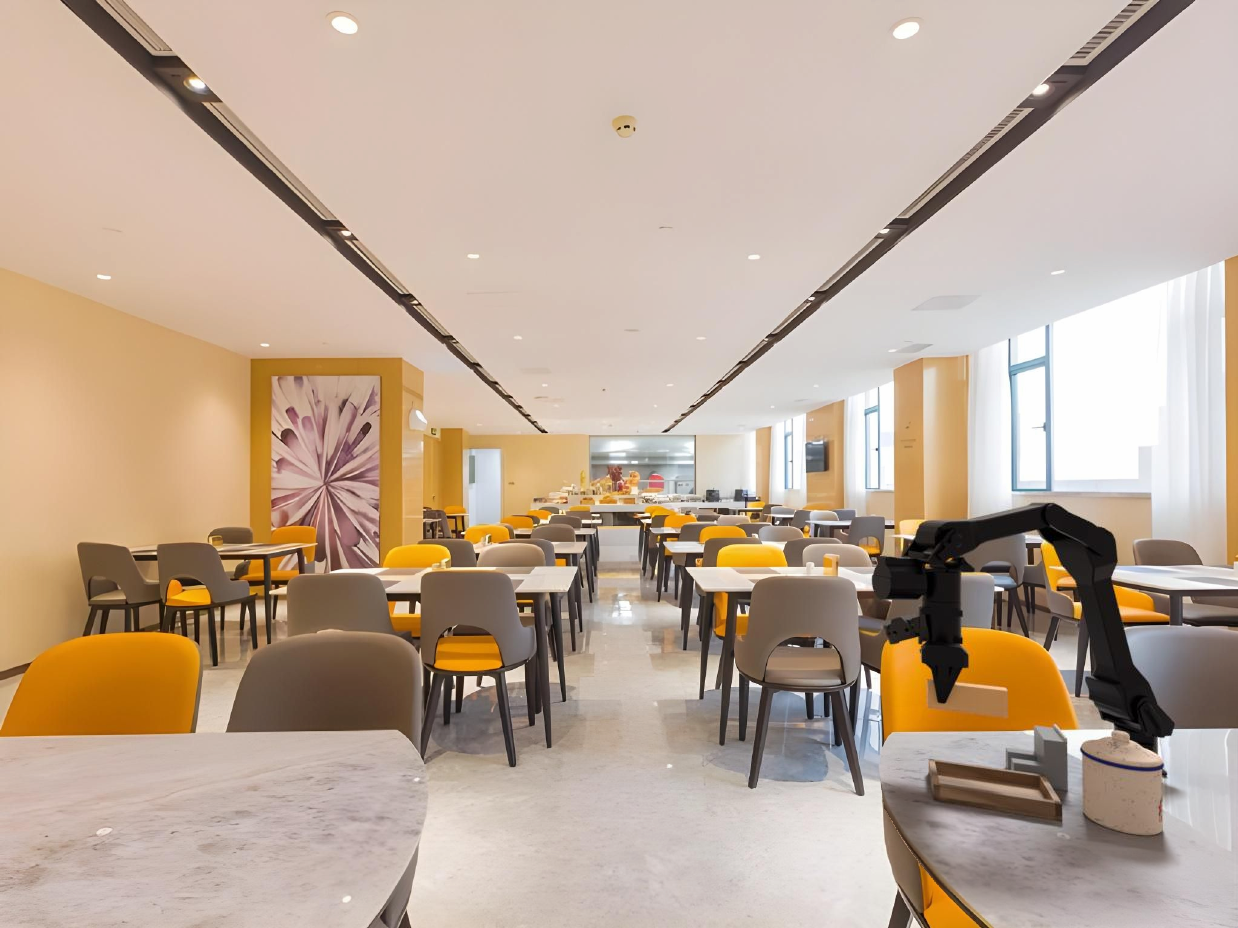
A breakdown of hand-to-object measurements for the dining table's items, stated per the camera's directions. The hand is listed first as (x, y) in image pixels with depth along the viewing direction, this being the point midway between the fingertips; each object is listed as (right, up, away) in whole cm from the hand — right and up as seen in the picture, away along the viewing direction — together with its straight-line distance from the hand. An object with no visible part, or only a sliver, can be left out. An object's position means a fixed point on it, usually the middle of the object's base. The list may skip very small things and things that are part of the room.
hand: (941, 700), depth 107 cm
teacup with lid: (+17, -11, -14) cm, 25 cm away
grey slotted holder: (+14, -11, -2) cm, 18 cm away
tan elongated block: (+3, -1, -1) cm, 4 cm away
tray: (+3, -11, -8) cm, 14 cm away
